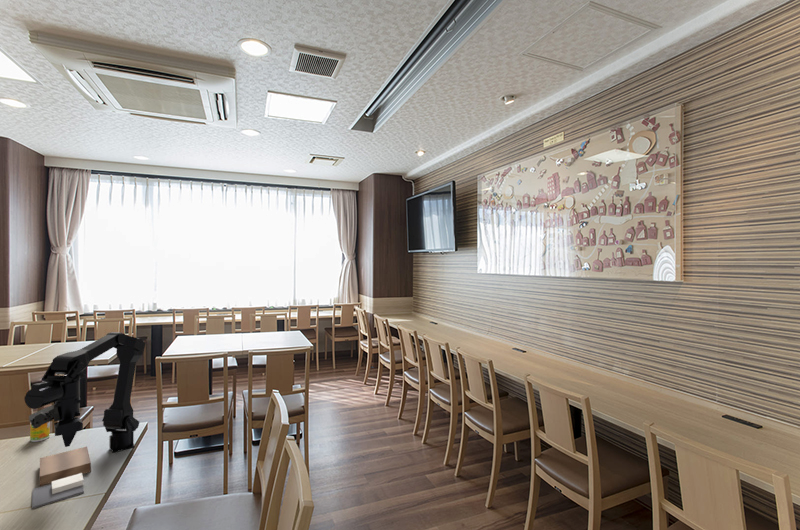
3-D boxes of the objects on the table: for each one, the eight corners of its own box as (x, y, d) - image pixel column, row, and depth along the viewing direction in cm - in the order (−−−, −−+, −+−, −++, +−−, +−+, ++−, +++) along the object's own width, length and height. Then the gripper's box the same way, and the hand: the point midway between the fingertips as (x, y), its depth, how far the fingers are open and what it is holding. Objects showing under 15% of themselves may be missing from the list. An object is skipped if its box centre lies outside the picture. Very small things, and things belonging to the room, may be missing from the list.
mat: (81, 476, 121) (81, 475, 121) (83, 492, 113) (83, 491, 113) (32, 490, 113) (32, 488, 113) (31, 509, 105) (31, 507, 105)
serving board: (86, 454, 134) (87, 446, 134) (90, 471, 123) (90, 462, 123) (39, 467, 125) (39, 458, 125) (39, 486, 115) (39, 476, 115)
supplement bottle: (27, 443, 141) (27, 417, 141) (33, 437, 145) (33, 411, 145) (46, 440, 143) (47, 414, 143) (51, 434, 148) (52, 409, 148)
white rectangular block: (83, 479, 116) (83, 484, 116) (81, 472, 119) (81, 477, 119) (52, 489, 111) (52, 494, 111) (51, 481, 114) (51, 486, 114)
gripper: (31, 393, 119) (31, 443, 119) (30, 412, 105) (30, 468, 106) (78, 386, 127) (78, 432, 127) (83, 402, 113) (82, 454, 113)
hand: (67, 446), depth 118 cm, fingers closed
